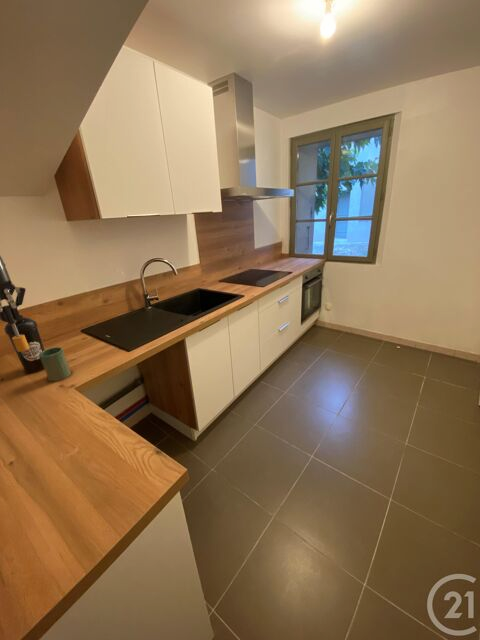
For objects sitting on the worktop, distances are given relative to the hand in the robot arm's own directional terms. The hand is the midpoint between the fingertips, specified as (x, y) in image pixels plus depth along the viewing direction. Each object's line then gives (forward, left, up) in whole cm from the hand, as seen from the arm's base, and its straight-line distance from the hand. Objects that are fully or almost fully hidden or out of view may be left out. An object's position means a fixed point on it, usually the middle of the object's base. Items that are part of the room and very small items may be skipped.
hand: (11, 320), depth 87 cm
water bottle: (-7, +18, -27) cm, 33 cm away
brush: (0, 0, -11) cm, 11 cm away
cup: (+5, +6, -27) cm, 28 cm away
